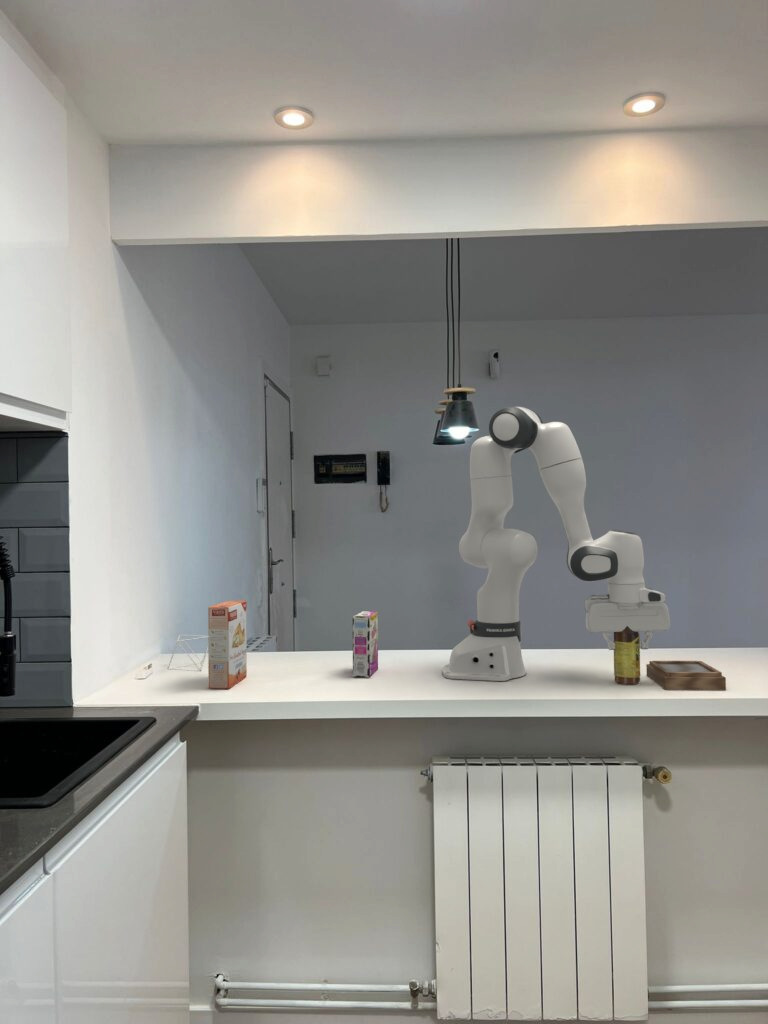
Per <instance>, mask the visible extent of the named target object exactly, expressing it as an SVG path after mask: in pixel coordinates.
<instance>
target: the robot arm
mask: <svg viewBox="0 0 768 1024" xmlns="http://www.w3.org/2000/svg"><path fill="white" fill-rule="evenodd" d="M488 431H489V433H488V434H489V435H485V436H481V437H479V438H477V439H476V440H475V441H474V442H473V443H472V444H471V448H470V452H469V453H470V454H469V476H470V477H469V478H470V481H469V482H470V492H471V494H470V495H471V512H470V518H469V523H468V526H467V529H466V532H465V533H464V534H463V535H462V536H461V538H460V540H459V544H458V551H459V556H460V558H461V559H462V560H463V562H465V563H467V564H468V565H471V566H473V567H476V568H479V569H488V571H487V572H488V574H487V577H486V579H485V583H483V585H482V586H481V587H480V588H479V589H478V590H477V593H476V602H477V603H476V605H477V607H476V608H477V613H476V614H477V616H476V617H477V619H476V620H475V621H474V620H473V619H471V620H469V621H468V622H467V627H468V628H469V632H470V634H469V635H468V636H467V637H465V638H464V639H463V640H462V641H461V642H459V643H458V644H457V645H455V646H454V647H453V649H452V651H451V653H450V657H449V663H448V664H444V665H443V666H442V668H441V674H442V676H443V677H444V678H447V679H451V680H452V679H453V680H473V681H494V682H507V681H508V680H511V679H516V678H520V677H523V676H526V674H527V670H526V668H525V663H524V661H523V656H522V649H521V641H522V624H521V620H520V615H519V614H520V610H519V609H520V608H519V607H520V589H521V587H522V586H521V585H522V582H523V579H524V576H525V574H526V573H527V571H528V570H529V568H530V567H532V566H533V564H534V563H535V562H536V560H537V557H538V544H537V541H536V539H535V538H534V536H533V535H532V534H530V533H528V532H526V531H523V530H520V529H518V528H504V523H505V519H506V516H507V513H508V512H509V511H510V510H511V509H512V508H513V506H514V500H515V499H514V490H513V489H514V487H513V478H512V466H511V463H512V462H511V459H512V456H513V454H517V453H520V452H522V451H524V450H529V451H531V452H532V454H533V455H534V457H535V461H536V463H537V468H538V471H539V474H540V477H541V480H542V482H543V485H544V488H545V490H546V491H547V493H548V495H549V496H550V498H551V500H552V501H553V503H554V504H555V506H556V508H557V510H558V512H559V514H560V517H561V521H562V525H563V529H564V531H565V535H566V538H567V539H566V540H567V548H568V549H567V553H566V566H567V568H568V570H569V572H570V573H571V574H572V575H573V576H574V577H576V578H577V579H578V580H580V581H583V582H585V583H594V582H597V581H602V580H607V594H598V595H597V594H591V595H590V596H588V597H586V598H585V600H584V610H585V612H586V613H585V628H586V630H587V631H588V632H591V633H602V636H603V638H604V639H605V641H606V642H607V649H608V651H614V650H615V643H614V641H612V640H611V639H610V637H611V633H614V632H621V631H623V630H624V629H625V628H626V627H627V626H628V627H629V628H630V629H631V630H632V631H635V632H638V633H639V632H644V635H645V638H644V639H643V640H642V641H641V640H640V650H649V643H650V641H651V639H652V638H653V635H654V633H653V632H669V630H670V629H671V616H670V610H669V607H668V605H667V604H666V603H664V602H665V601H666V594H664V593H662V592H661V591H657V590H654V589H653V588H650V587H649V588H648V587H647V588H646V586H645V585H646V584H645V583H646V582H645V578H644V576H643V574H644V573H643V571H644V566H645V558H644V556H645V555H644V546H643V541H642V539H641V537H640V536H639V535H638V534H637V533H635V532H633V531H629V530H628V531H627V530H620V529H610V530H609V531H608V532H606V533H605V534H603V535H602V536H600V537H598V538H596V539H594V538H593V536H592V533H591V529H590V526H589V522H588V518H587V515H586V511H585V503H584V502H585V495H586V494H585V493H586V488H587V477H586V476H587V475H586V469H585V465H584V461H583V458H582V457H583V456H582V454H581V451H580V449H579V445H578V444H577V443H578V442H577V441H576V439H575V436H574V434H573V433H572V431H571V428H570V427H569V426H568V425H567V424H566V423H564V422H561V421H551V422H546V423H544V422H543V420H542V418H541V417H540V415H539V414H538V413H537V412H535V410H532V409H528V408H526V407H524V406H506V407H503V408H500V409H498V410H497V411H496V412H495V413H494V414H493V415H492V416H491V418H490V420H489V423H488Z"/></svg>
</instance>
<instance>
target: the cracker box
mask: <svg viewBox="0 0 768 1024" xmlns="http://www.w3.org/2000/svg"><path fill="white" fill-rule="evenodd" d="M247 605H248V604H247V601H246V600H226V601H223V602H221V603H219V602H218V603H216V604H213V605H210V606H208V608H207V609H208V610H207V613H208V616H207V617H208V618H207V620H208V623H207V629H208V630H207V631H208V632H207V633H208V635H207V636H208V637H207V639H208V644H207V647H208V651H207V653H208V654H207V655H208V656H207V657H208V659H207V660H208V663H207V664H208V667H207V669H208V671H207V672H208V673H207V674H208V675H207V676H208V677H207V678H208V689H212V690H213V689H214V690H218V689H219V690H230V689H231V688H232V687H234V686H235V685H237V684H238V683H240V682H241V681H242V680H244V679H246V678H247V677H248V674H247V671H248V669H247V663H248V662H247V656H248V655H247V647H248V646H247V642H248V641H247Z"/></svg>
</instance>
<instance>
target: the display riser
mask: <svg viewBox="0 0 768 1024" xmlns="http://www.w3.org/2000/svg"><path fill="white" fill-rule="evenodd" d="M645 667H646V676H647V678H649V679H650V680H652V681H653V682H654V683H656V685H658V686H660V687H661V688H662V689H664V690H665V691H727V686H726V685H727V683H726V682H727V680H726V677H725V676H723V673H722V672H721V671H720V670H719V669H716V668H715V667H712V666H711V665H709V664H707V663H705V662H704V661H702V660H649V662H648V663H646V665H645Z"/></svg>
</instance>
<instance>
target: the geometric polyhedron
mask: <svg viewBox="0 0 768 1024" xmlns="http://www.w3.org/2000/svg"><path fill="white" fill-rule="evenodd" d="M182 636H183V637H184V636H185V637H194V638H189V639H188V638H187V639H184V638H183V637H182ZM180 638H181V640H180ZM206 638H207V639H208V635H205V636H204V635H202V634H201V635H200V634H199V635H197V634H179V635H178V638H177V639H176V642H175V646H174V649H173V652H172V655H171V657H170V660H169V664H168V667H167V670H171V671H174V670H175V671H184V669H182V668H183V667H189V666H196V667H197V669H187V671H190V672H191V671H192V672H201V671H202V669H203V667H204V664H205V663H204V662H205V661H206V660H205V659H206V657H207V655H208V654H207V653H208V646H206V647H207V648H206V649H205V652H204V655H203V658H202V661H201V659H200V658H199V657H198V656H197V655H196V653H195V652H194V650H193V649H192V648H191V646H189V644H188V643H187V642H186V641H192V640H193V641H194V640H197V639H198V640H199V639H206ZM180 642H184V643H185V644H186V646H187V647H188V648H189V650H190V651H192V652H191V653H193V654H194V656H195V657H196V658H197V659H198V661H199V663H196V662H195V661H194V660H193V658H192V657H191V656H190V655H189V654H188V652H187V650H186V649H185V648H184V647H183V646H182V645H181V643H180ZM177 645H179V646H180V647H181V648H182V650H183V651H184V652H185V653H186V655H187V656H188V657H189V659H190V660H191V661H192V664H186V665H182V666H181V665H180V666H175V667H170V666H171V663H172V660H173V658H174V657H173V656H175V655H174V654H175V651H176V648H177ZM197 665H200V668H199V666H197ZM177 668H178V669H177ZM180 668H181V669H180Z"/></svg>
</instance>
